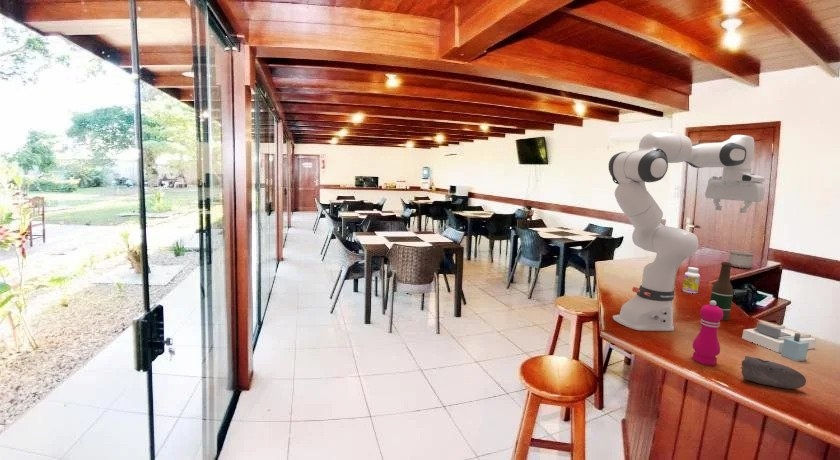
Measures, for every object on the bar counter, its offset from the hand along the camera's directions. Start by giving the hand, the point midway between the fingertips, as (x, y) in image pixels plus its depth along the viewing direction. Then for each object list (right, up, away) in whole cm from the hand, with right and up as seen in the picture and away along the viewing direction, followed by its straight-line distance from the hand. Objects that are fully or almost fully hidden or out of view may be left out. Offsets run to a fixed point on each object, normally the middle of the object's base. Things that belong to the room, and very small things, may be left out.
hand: (730, 211), depth 165 cm
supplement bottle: (+16, -40, +49) cm, 65 cm away
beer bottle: (+2, -45, +10) cm, 46 cm away
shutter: (+2, -45, -18) cm, 48 cm away
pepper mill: (-34, -49, -34) cm, 69 cm away
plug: (0, -50, -28) cm, 57 cm away
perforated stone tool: (-25, -52, -48) cm, 75 cm away
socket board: (+5, -49, -16) cm, 51 cm away
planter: (+97, -34, +120) cm, 158 cm away
